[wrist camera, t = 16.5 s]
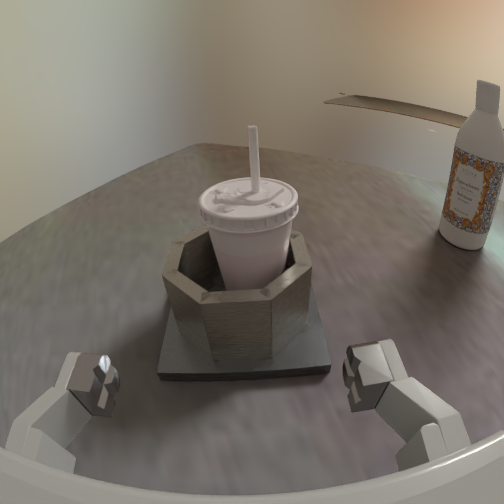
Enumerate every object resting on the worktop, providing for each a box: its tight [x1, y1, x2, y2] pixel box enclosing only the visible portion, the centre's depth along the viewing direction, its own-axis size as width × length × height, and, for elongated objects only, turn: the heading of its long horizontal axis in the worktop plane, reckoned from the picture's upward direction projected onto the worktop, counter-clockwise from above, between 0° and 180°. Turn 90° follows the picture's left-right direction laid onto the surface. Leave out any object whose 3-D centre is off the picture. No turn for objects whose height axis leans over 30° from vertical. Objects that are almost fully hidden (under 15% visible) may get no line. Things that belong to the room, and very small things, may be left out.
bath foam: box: [439, 80, 504, 250], centre depth 28 cm, size 7×7×20 cm
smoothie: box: [198, 126, 298, 291], centre depth 21 cm, size 6×6×14 cm
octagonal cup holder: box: [157, 225, 332, 381], centre depth 23 cm, size 12×12×6 cm
